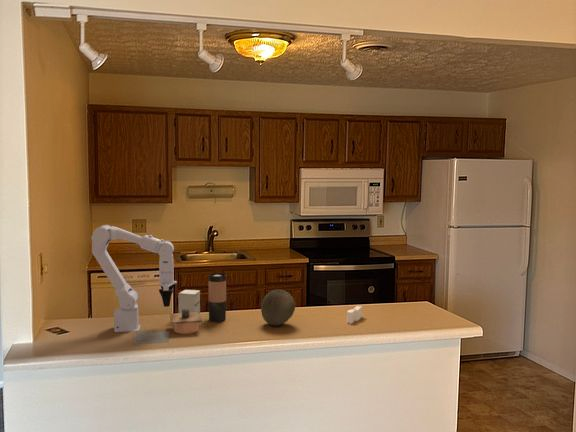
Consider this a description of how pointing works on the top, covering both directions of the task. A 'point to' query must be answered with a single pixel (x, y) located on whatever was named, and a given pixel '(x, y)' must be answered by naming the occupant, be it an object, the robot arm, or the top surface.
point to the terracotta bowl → (186, 328)
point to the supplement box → (189, 300)
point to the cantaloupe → (277, 307)
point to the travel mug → (217, 297)
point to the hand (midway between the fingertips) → (167, 303)
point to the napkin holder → (354, 314)
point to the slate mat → (151, 337)
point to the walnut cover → (185, 317)
